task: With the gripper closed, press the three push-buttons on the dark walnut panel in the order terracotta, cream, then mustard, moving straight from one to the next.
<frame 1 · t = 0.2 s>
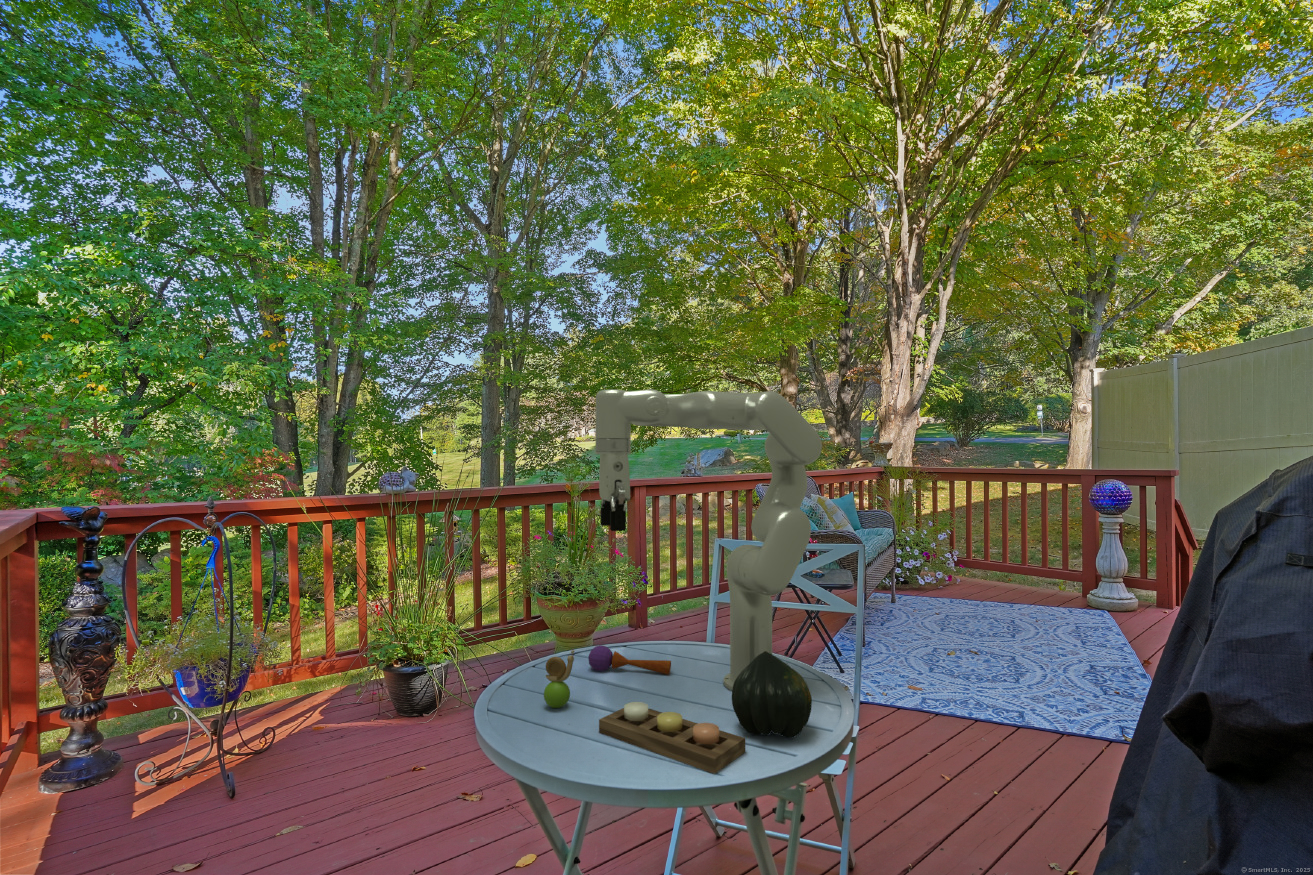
hand: (612, 527, 141), 37 cm above the table, tool pointing down, fingers open, 9 cm apart
purple and brown maraca: (629, 673, 160), on the table
button panel: (669, 741, 121), on the table
squash: (770, 731, 126), on the table
cream button: (636, 711, 126), point 4 cm above the table, slide at 0.0 cm
terracotta button: (706, 733, 116), point 4 cm above the table, slide at 0.0 cm
mustard button: (669, 721, 121), point 4 cm above the table, slide at 0.0 cm
snail figurine: (559, 708, 137), on the table
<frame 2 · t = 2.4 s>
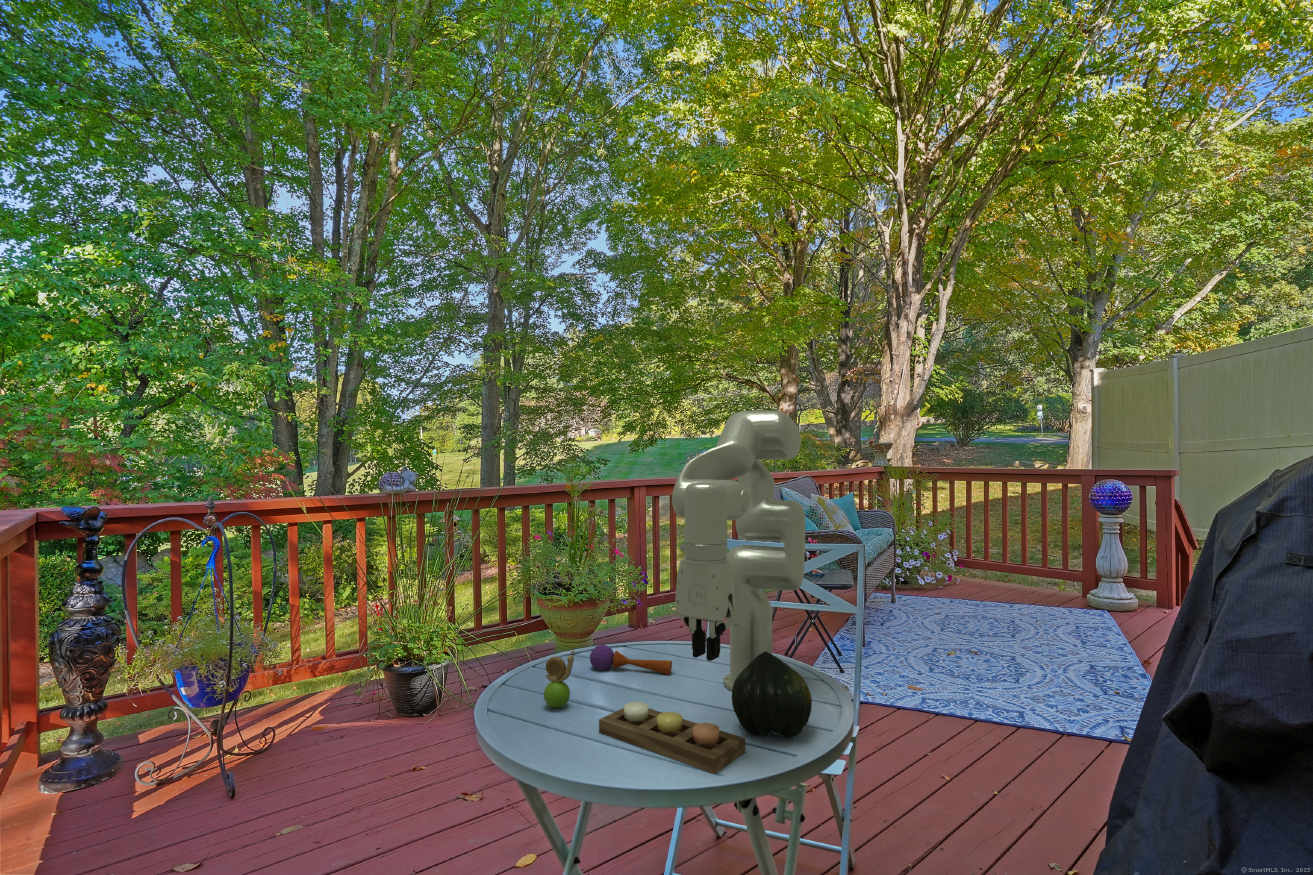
hand: (706, 656, 116), 17 cm above the table, tool pointing down, fingers closed
nothing on the table moved.
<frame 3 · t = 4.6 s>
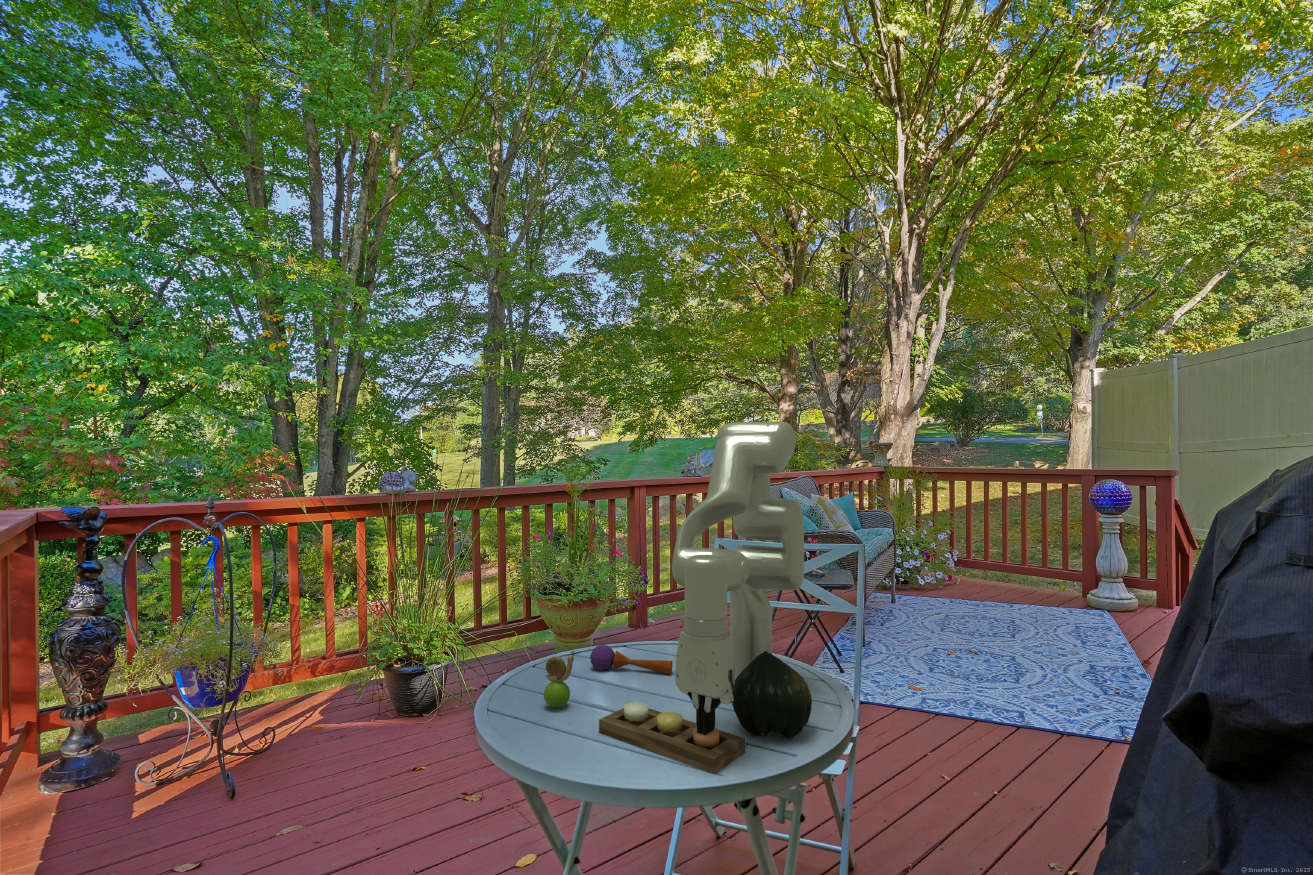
hand: (705, 731, 116), 4 cm above the table, tool pointing down, fingers closed
terracotta button: (706, 735, 116), point 3 cm above the table, slide at 0.5 cm, touching gripper
everything else where it was.
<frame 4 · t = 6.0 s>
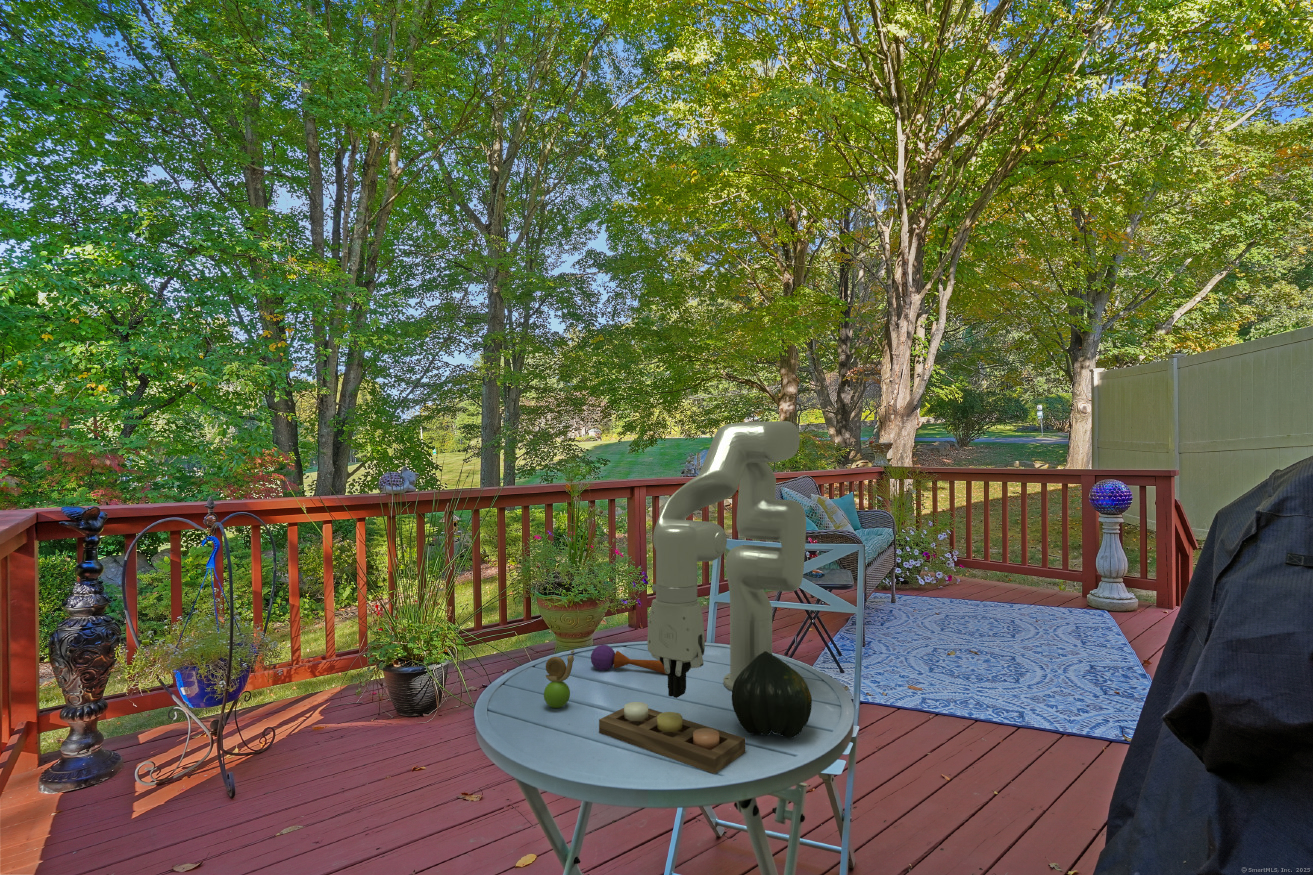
hand: (676, 694, 120), 9 cm above the table, tool pointing down, fingers closed
terracotta button: (706, 738, 116), point 3 cm above the table, slide at 1.0 cm
everything else where it was.
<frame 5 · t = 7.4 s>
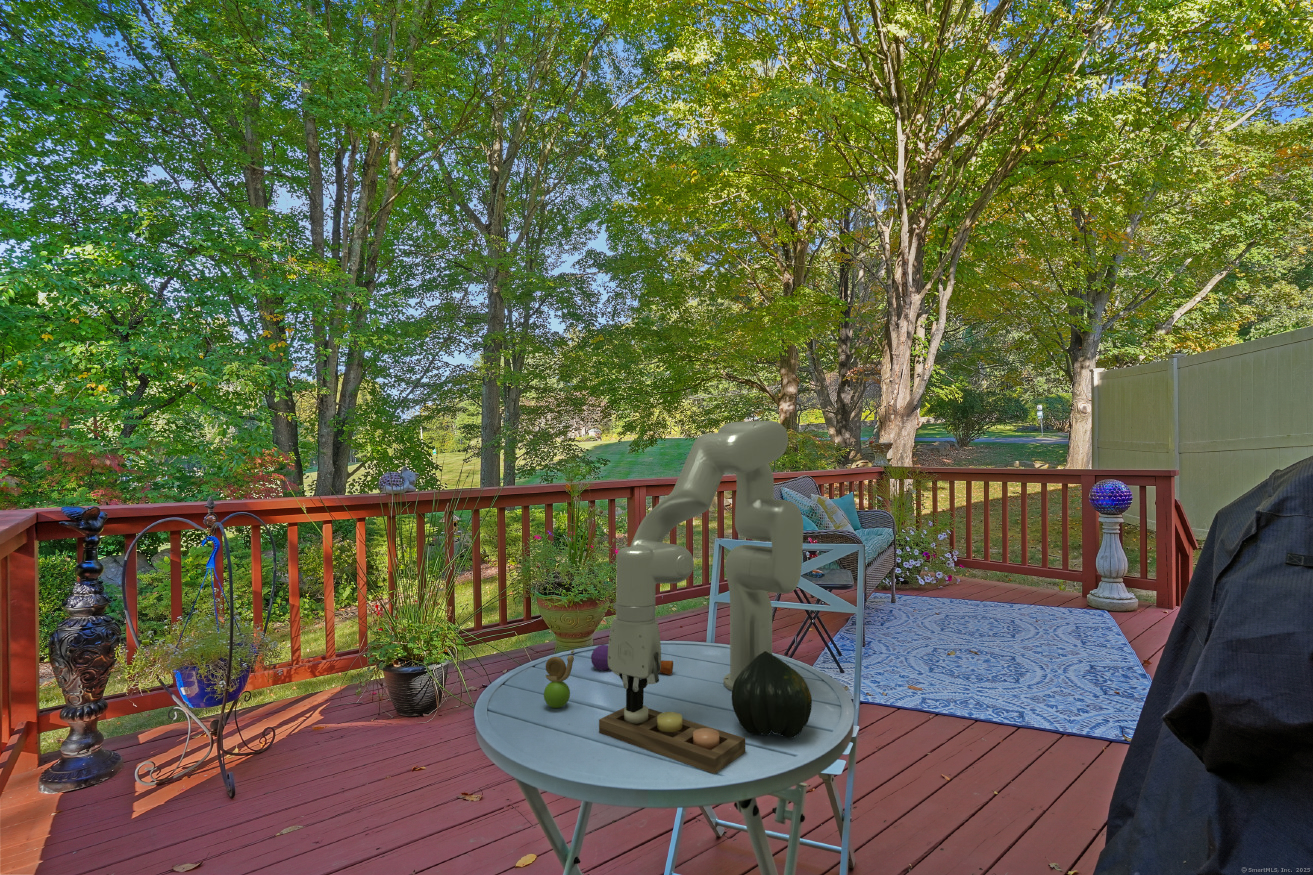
hand: (634, 709, 126), 4 cm above the table, tool pointing down, fingers closed
cream button: (636, 713, 126), point 3 cm above the table, slide at 0.5 cm, touching gripper
everything else where it was.
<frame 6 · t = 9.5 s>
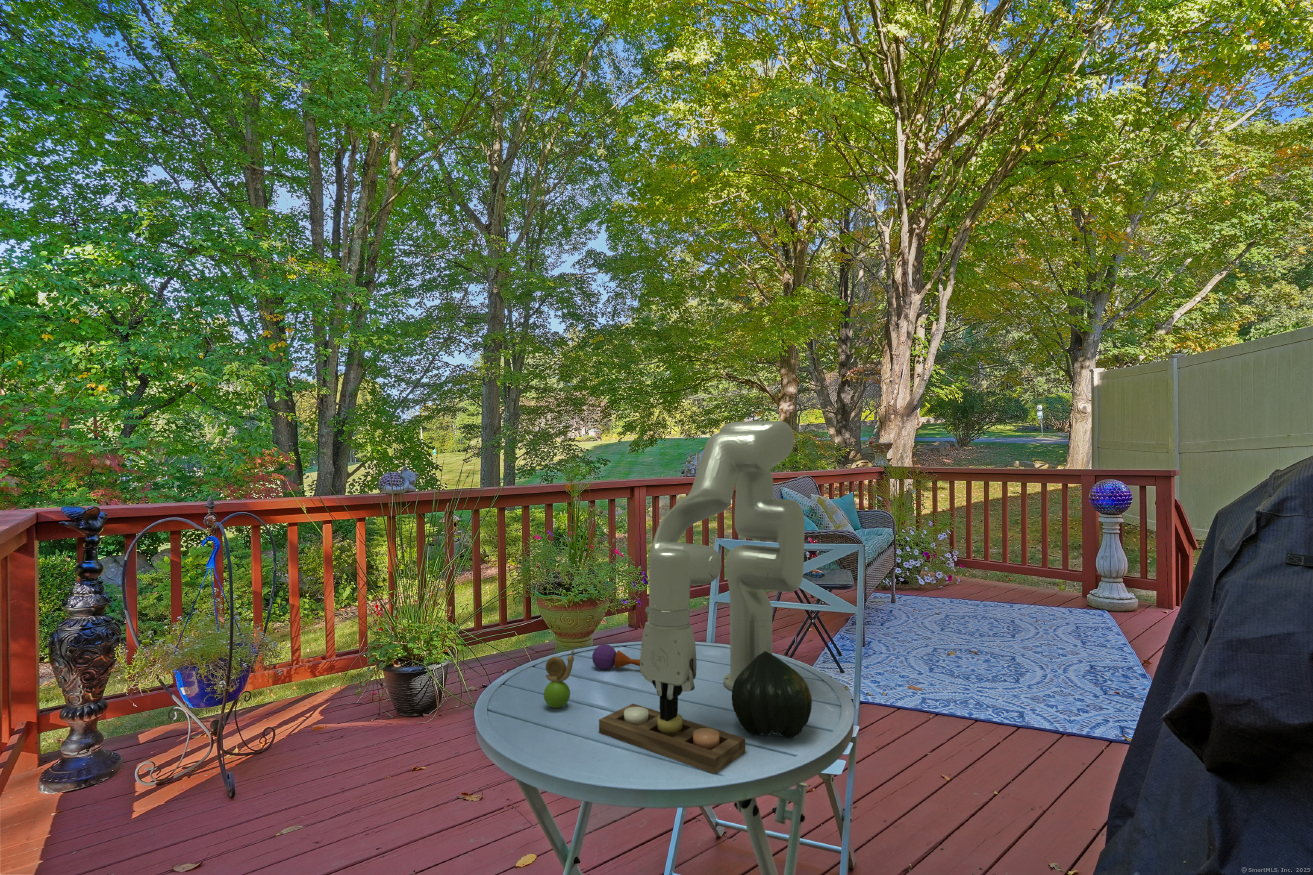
hand: (668, 717, 121), 5 cm above the table, tool pointing down, fingers closed
cream button: (636, 716, 126), point 3 cm above the table, slide at 1.0 cm
mustard button: (669, 722, 121), point 4 cm above the table, slide at 0.1 cm, touching gripper
everything else where it was.
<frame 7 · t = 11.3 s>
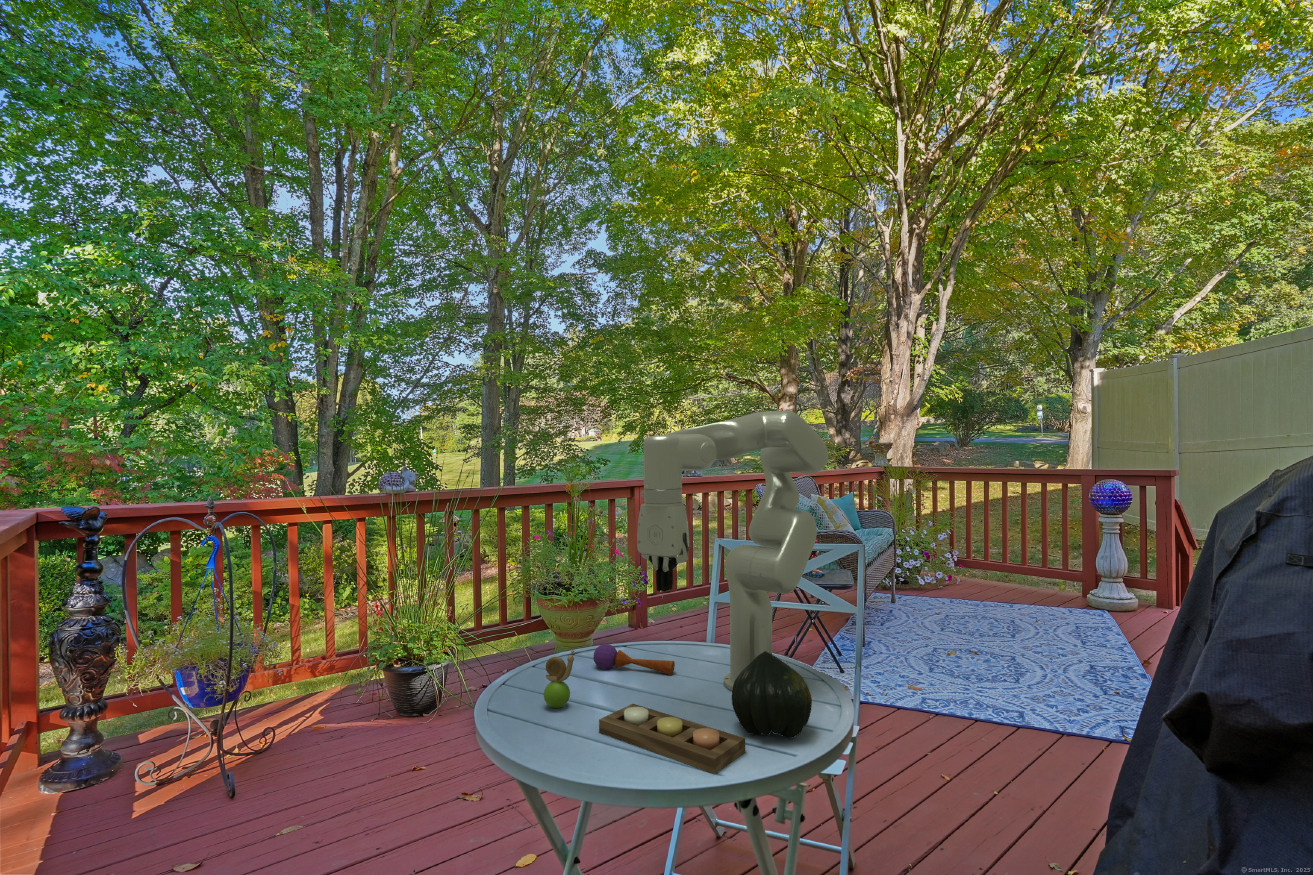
hand: (664, 589, 131), 26 cm above the table, tool pointing down, fingers closed
mustard button: (669, 726, 121), point 3 cm above the table, slide at 1.0 cm
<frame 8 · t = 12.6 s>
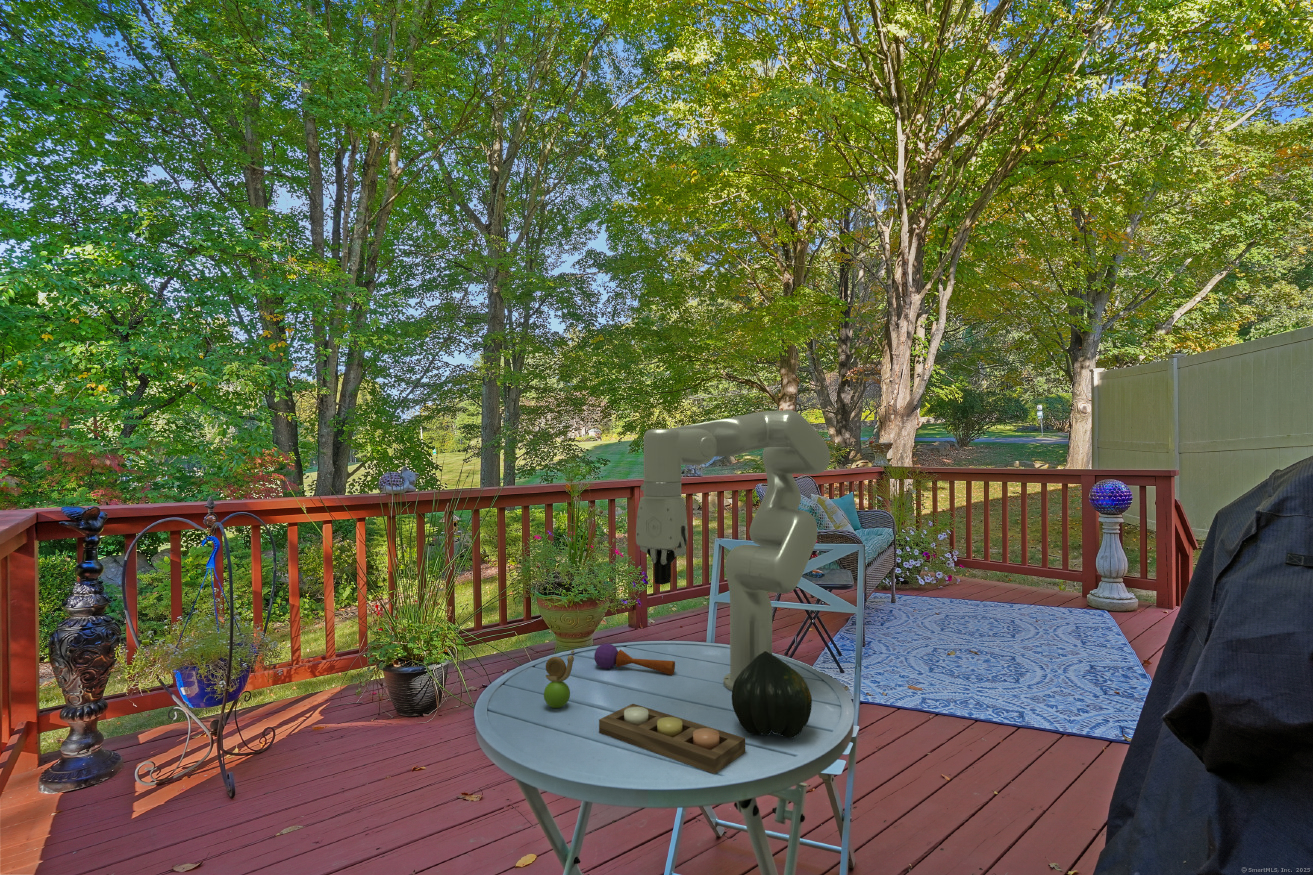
hand: (662, 582, 131), 27 cm above the table, tool pointing down, fingers closed
at the end: terracotta button slide at 1.0 cm; cream button slide at 1.0 cm; mustard button slide at 1.0 cm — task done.
